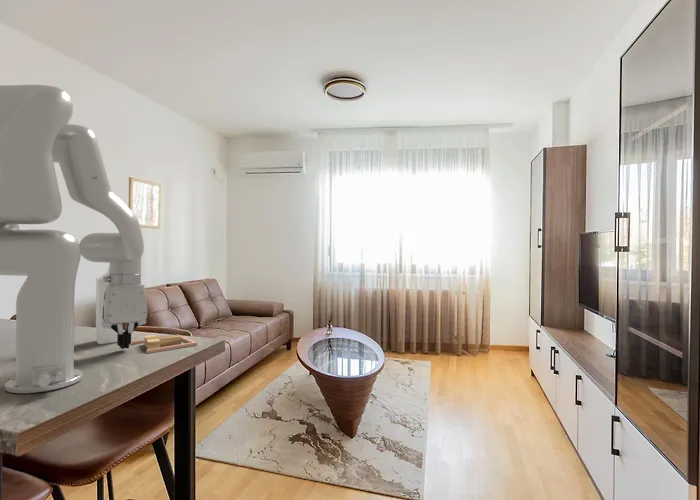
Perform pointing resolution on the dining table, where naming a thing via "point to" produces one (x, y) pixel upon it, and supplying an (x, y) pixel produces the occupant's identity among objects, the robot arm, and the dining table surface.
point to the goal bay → (189, 343)
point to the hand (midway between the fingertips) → (124, 347)
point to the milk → (101, 333)
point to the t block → (161, 341)
